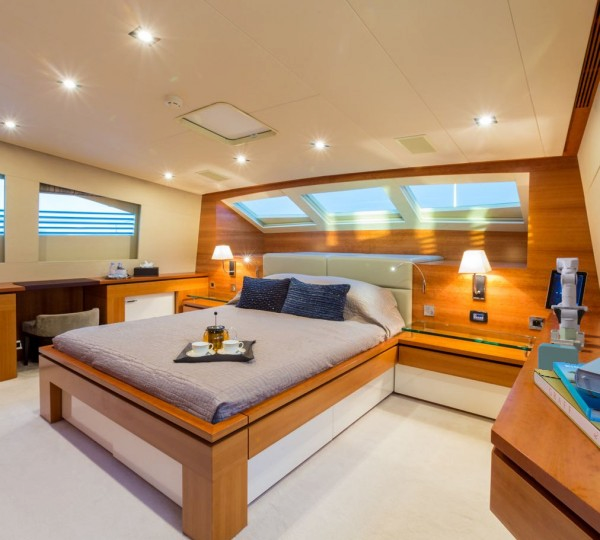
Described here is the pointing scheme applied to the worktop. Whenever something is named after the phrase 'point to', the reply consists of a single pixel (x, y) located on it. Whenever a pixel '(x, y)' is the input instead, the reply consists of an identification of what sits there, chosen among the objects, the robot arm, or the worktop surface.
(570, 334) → the green module
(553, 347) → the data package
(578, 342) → the block
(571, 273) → the robot arm
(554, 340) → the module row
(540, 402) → the worktop surface
